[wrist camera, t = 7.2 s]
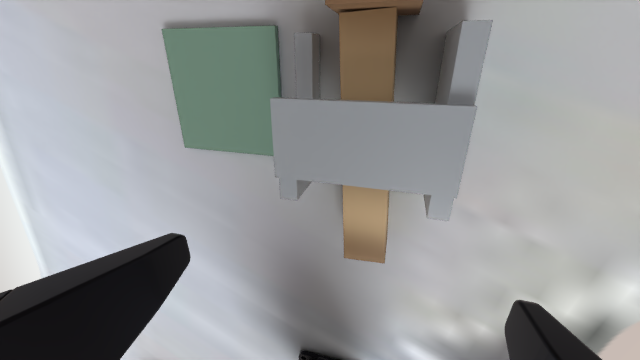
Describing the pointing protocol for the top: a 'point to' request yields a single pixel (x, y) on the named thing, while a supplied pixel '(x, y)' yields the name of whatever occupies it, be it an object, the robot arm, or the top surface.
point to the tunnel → (381, 128)
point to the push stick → (367, 85)
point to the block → (375, 5)
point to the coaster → (225, 86)
